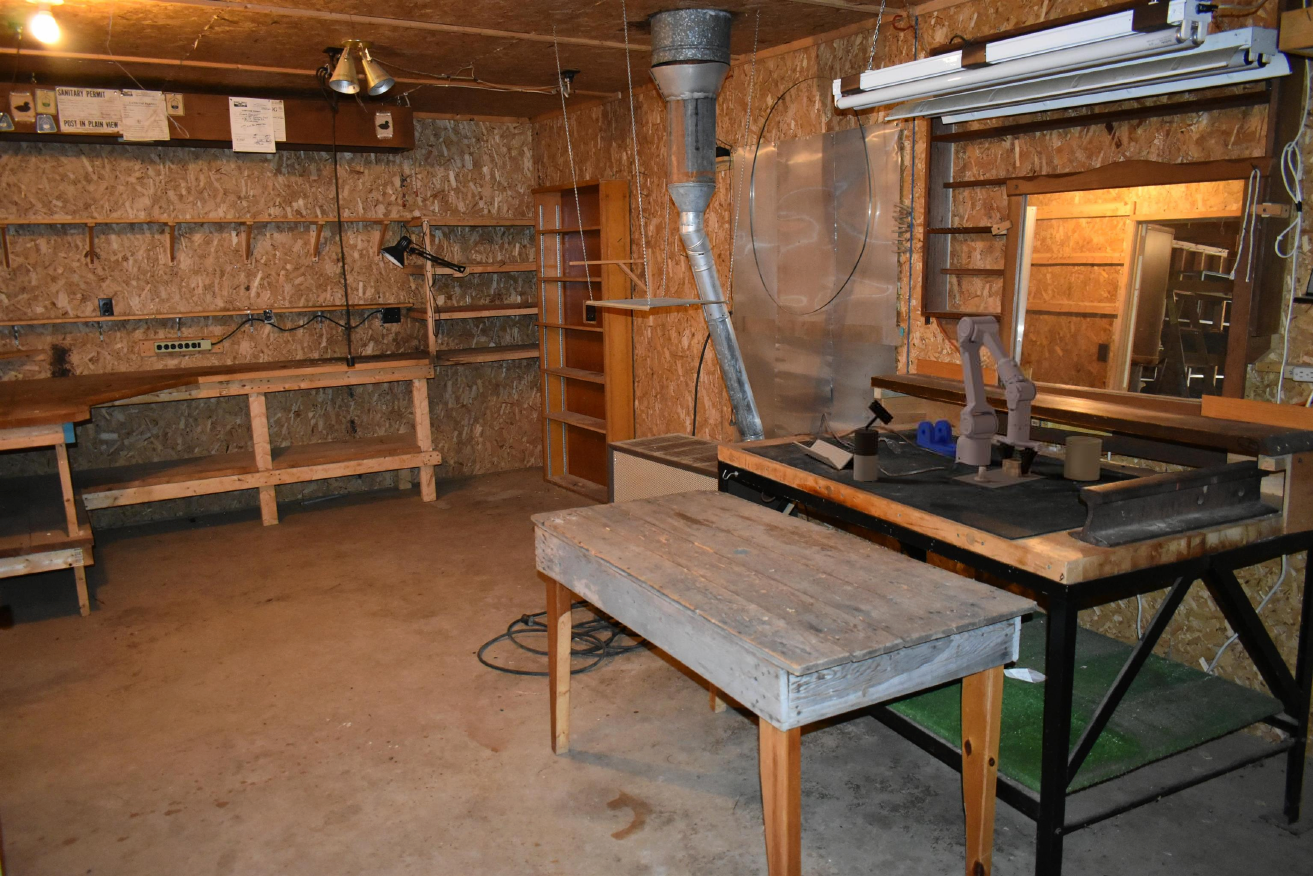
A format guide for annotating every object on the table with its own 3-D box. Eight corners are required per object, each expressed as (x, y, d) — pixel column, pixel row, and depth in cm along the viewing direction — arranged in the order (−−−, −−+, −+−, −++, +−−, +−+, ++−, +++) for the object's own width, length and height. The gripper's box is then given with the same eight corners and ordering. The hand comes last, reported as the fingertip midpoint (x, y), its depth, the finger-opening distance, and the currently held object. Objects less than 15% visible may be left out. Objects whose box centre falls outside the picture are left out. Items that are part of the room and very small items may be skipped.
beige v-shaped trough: (817, 466, 298) (830, 451, 298) (852, 483, 274) (866, 468, 274) (793, 441, 294) (806, 427, 294) (826, 457, 270) (840, 441, 270)
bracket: (916, 447, 303) (917, 420, 302) (938, 445, 306) (939, 418, 304) (949, 457, 287) (950, 429, 285) (972, 455, 289) (973, 427, 287)
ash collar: (1002, 473, 260) (1002, 459, 259) (1014, 471, 262) (1015, 457, 261) (1017, 477, 255) (1018, 463, 254) (1029, 474, 258) (1030, 460, 257)
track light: (869, 492, 258) (918, 440, 258) (829, 453, 254) (879, 400, 253) (860, 487, 264) (908, 436, 264) (821, 448, 260) (870, 396, 260)
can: (1078, 485, 249) (1081, 441, 247) (1055, 477, 258) (1058, 435, 256) (1107, 482, 252) (1110, 439, 249) (1083, 475, 260) (1086, 433, 258)
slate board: (951, 481, 256) (952, 464, 255) (1004, 471, 267) (1005, 454, 266) (992, 491, 244) (993, 474, 243) (1046, 480, 255) (1047, 463, 254)
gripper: (987, 422, 260) (985, 469, 263) (1031, 429, 248) (1028, 478, 250) (1004, 419, 264) (1001, 465, 266) (1048, 426, 251) (1045, 475, 254)
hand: (1016, 472), depth 259 cm, fingers closed on ash collar, 5 cm apart
